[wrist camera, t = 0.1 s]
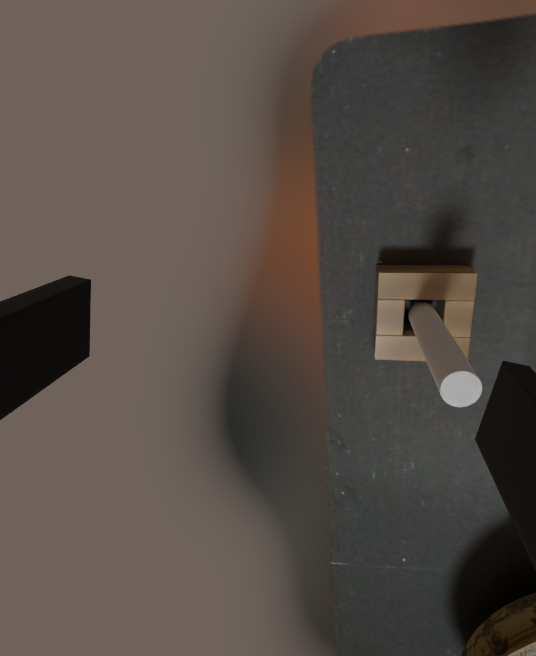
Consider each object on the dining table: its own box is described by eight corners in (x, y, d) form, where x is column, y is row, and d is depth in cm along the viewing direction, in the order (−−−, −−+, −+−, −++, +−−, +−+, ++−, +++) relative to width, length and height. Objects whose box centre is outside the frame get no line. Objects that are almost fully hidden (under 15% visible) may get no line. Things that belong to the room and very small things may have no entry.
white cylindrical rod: (408, 293, 37) (446, 367, 23) (434, 297, 37) (487, 375, 23) (402, 316, 38) (435, 403, 24) (427, 321, 37) (475, 411, 23)
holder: (376, 264, 37) (378, 272, 34) (467, 265, 36) (478, 273, 33) (372, 346, 39) (374, 359, 36) (458, 348, 38) (467, 363, 35)
